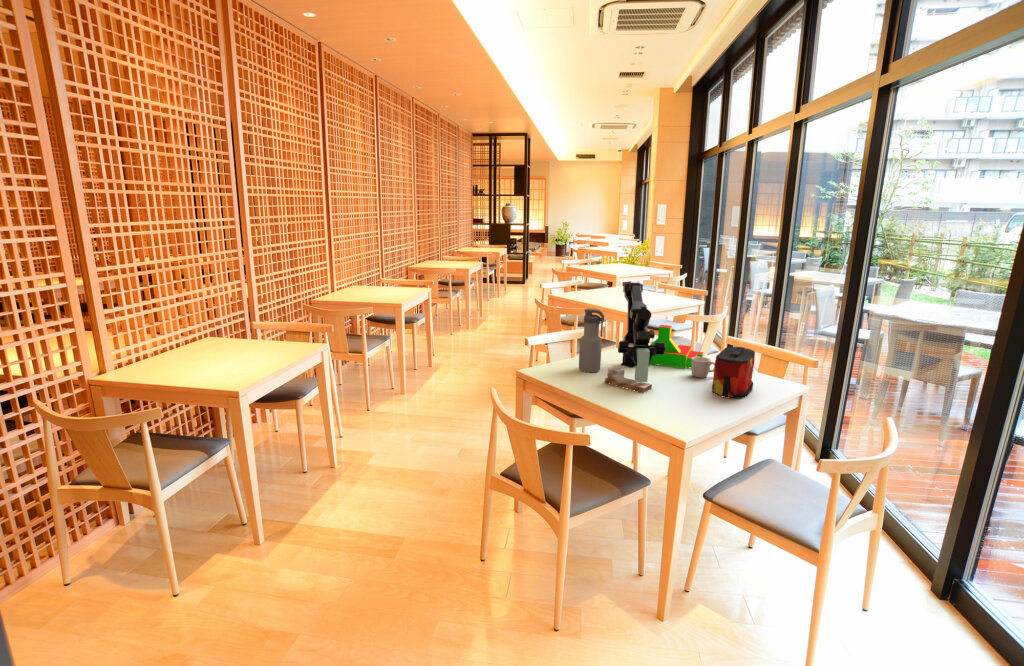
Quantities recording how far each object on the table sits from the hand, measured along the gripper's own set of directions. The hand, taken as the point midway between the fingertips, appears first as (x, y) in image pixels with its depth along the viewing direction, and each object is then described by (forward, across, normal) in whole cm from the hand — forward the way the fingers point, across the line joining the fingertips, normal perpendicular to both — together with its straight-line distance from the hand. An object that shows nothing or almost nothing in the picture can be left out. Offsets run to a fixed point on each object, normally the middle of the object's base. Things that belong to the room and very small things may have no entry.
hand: (642, 365), depth 213 cm
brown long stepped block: (+5, -5, +10) cm, 12 cm away
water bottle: (-10, -20, +24) cm, 33 cm away
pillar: (+4, 0, +6) cm, 7 cm away
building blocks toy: (-24, +22, +39) cm, 51 cm away
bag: (+3, +39, +12) cm, 41 cm away
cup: (-8, +30, +23) cm, 39 cm away
